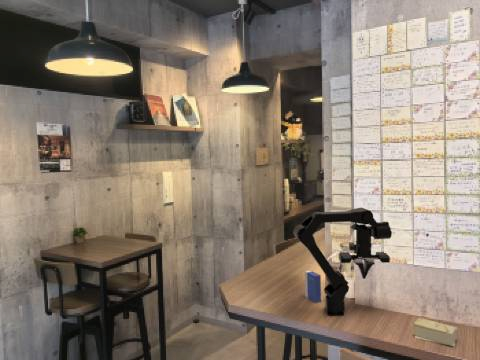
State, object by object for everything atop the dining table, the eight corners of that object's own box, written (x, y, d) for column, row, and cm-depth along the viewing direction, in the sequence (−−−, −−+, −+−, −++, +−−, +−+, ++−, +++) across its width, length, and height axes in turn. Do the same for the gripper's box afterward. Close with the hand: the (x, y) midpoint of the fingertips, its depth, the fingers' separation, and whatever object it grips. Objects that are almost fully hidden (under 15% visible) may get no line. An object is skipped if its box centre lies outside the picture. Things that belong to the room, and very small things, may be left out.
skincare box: (419, 317, 139) (457, 326, 131) (419, 329, 140) (457, 339, 132) (413, 323, 135) (452, 333, 127) (413, 336, 135) (452, 346, 127)
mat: (414, 337, 134) (414, 337, 134) (420, 321, 146) (420, 321, 146) (454, 346, 128) (454, 345, 128) (457, 328, 139) (457, 328, 139)
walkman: (321, 301, 167) (320, 274, 166) (315, 303, 166) (315, 275, 164) (310, 295, 174) (309, 269, 173) (305, 296, 173) (304, 270, 172)
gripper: (381, 234, 162) (381, 271, 164) (336, 235, 163) (336, 272, 165) (390, 241, 151) (390, 280, 152) (341, 242, 152) (341, 281, 154)
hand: (363, 278), depth 156 cm, fingers closed
